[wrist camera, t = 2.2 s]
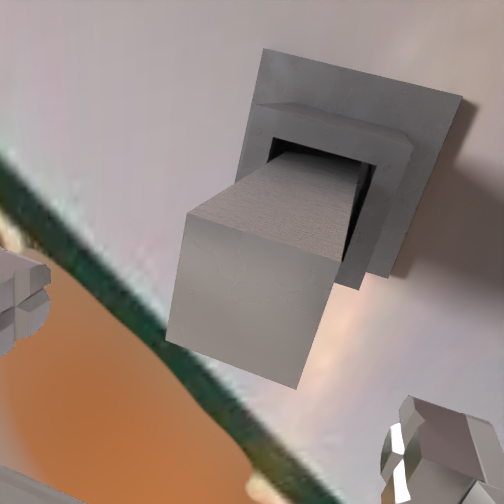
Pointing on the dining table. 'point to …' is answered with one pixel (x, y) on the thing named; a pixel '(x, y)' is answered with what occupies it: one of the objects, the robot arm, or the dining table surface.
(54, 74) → the dining table surface
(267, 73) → the stand
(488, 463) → the robot arm
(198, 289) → the column
